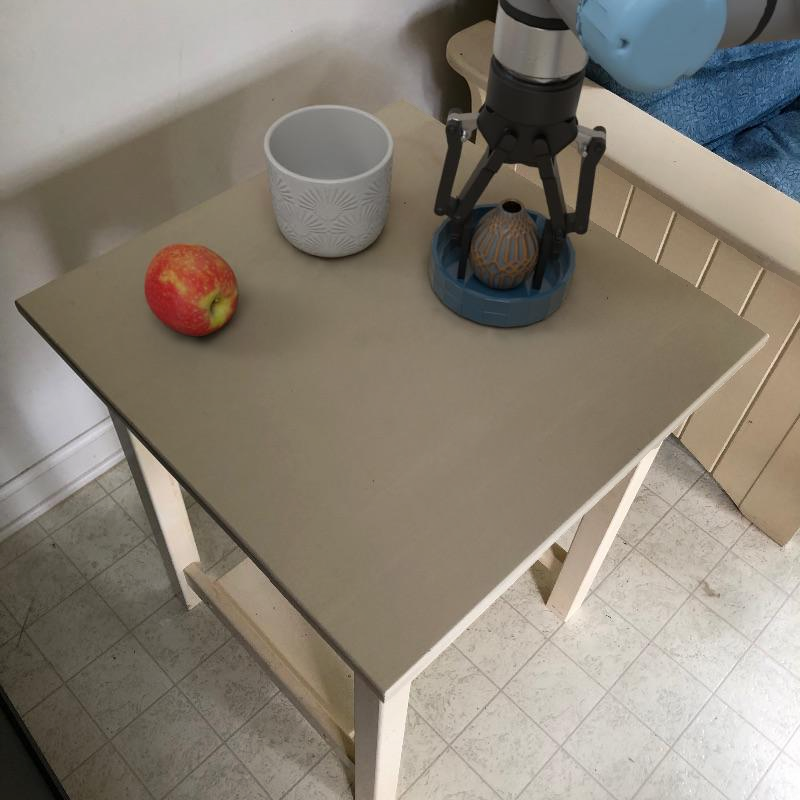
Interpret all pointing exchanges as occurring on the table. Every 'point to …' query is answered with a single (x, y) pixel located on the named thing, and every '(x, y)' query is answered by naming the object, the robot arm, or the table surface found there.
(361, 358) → the table surface
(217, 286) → the apple
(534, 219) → the bowl
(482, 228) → the vase
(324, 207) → the planter
